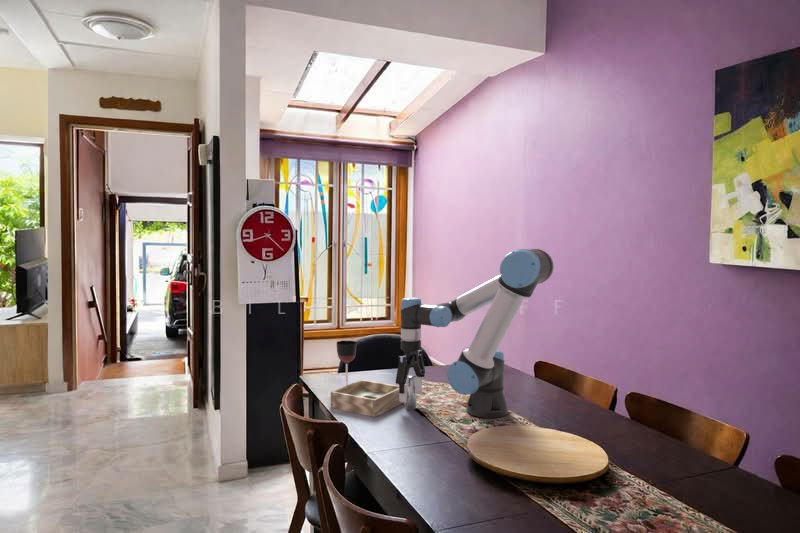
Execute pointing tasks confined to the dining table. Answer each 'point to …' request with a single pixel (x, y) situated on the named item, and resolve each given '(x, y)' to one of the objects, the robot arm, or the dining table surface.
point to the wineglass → (346, 353)
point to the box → (366, 397)
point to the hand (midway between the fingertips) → (410, 397)
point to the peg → (411, 392)
